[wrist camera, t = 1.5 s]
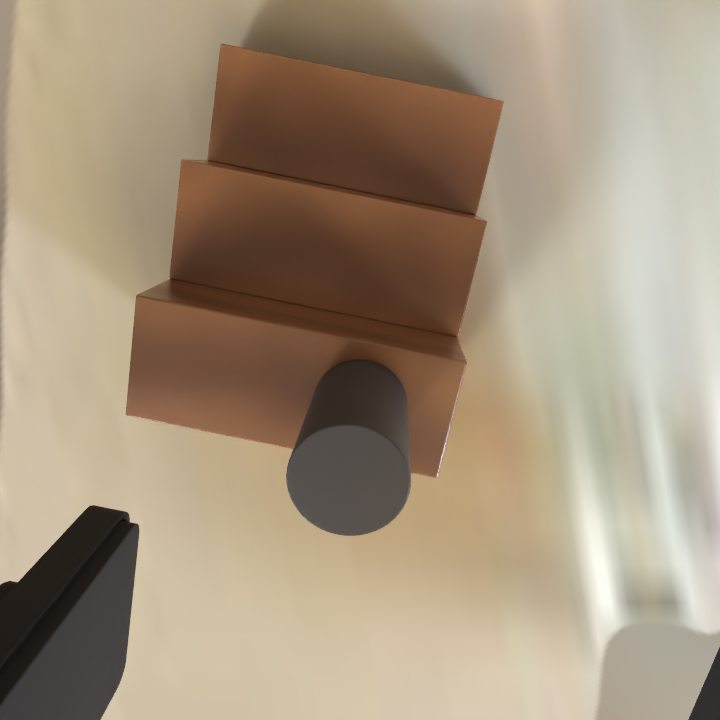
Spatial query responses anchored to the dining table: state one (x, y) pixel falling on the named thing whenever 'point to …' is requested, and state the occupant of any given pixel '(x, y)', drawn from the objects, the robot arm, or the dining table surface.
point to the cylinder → (352, 451)
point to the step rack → (316, 251)
